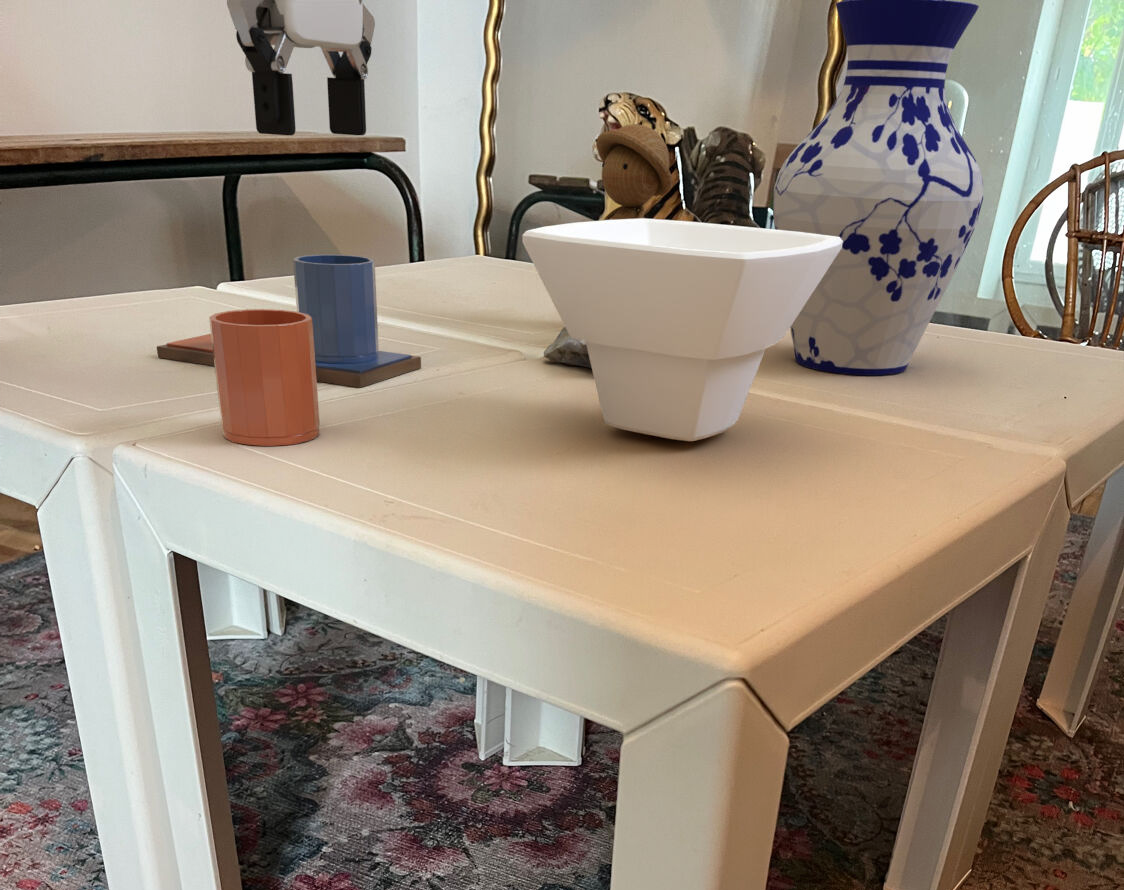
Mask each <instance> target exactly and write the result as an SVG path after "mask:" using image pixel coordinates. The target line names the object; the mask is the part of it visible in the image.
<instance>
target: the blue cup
mask: <svg viewBox="0 0 1124 890" xmlns="http://www.w3.org/2000/svg"><path fill="white" fill-rule="evenodd" d="M292 265H293V276H294V290H295V302H296V303H295V304H296V312H301V313H304V314H308V315H310V316H311V318H312V324H313V338H314V352H315V362H319V363H330V364H351V363H362V362H368V361H372V360H374V359H376V358H378V351H379V349H380V348H379V328H378V327H379V325H378V304H377V302H378V301H377V281H376V280H377V279H376V278H377V277H376V261H375V259H373V258H372V257H368V256H367V257H366V256H360V255H352V254H307V255H301V256H296V257H294V258H292Z"/></svg>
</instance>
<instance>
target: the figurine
mask: <svg viewBox="0 0 1124 890" xmlns="http://www.w3.org/2000/svg"><path fill="white" fill-rule="evenodd" d="M595 146H596V147H595V148H596V150H597V154H598V157H599V158H600V160H601V161H602V164H601V183H602V186H603V189H604V190H605V193H606V195H607V197H609V199H611V201H613V202H614V203H615V204H617V205H620V206H618V207H616V208H614V209H613V210H612V211H610V212H609V213H608V214H607V215H606V216H605V217H604V218H603V220H618V219H640V218H645V208H644V206H643V205H644V204H645V203H647V202H648V201H650V200H651V199H652V198H653V197H658V196H664V195H667V193H669V192H670V191H671V189H672V187H673V178H672V174H671V171H670V153H669V149H668V146H667V144H666V142H665V140H664V139H663V138H662V136H661V135H660V134H659V133H658V132H657V131H656V130H654V129H653V128H651V127H650V126H648V125H644V124H639V123H638V124H637V123H631V124H627V125H623V126H621V127H620V128H618V129H616V130H605V131H603V132H601V133H600V134H598V136H597V139H596V143H595Z"/></svg>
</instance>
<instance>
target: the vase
mask: <svg viewBox="0 0 1124 890" xmlns="http://www.w3.org/2000/svg"><path fill="white" fill-rule="evenodd" d="M835 7H836V12H837V15H838V18H839V21H840V25H841V28H842V32H843V36H844V40H845V44H846V52H847V64H846V65H847V66H846V73H845V76H844V77H845V78H844V82H843V85H842V87H841V89H840V92H839V94H838V96H837V98H836V100H835V101H834V103H833V105H832V106H831V108H830V109H829V110H828V112H827V113H826V114H825V115H824V117H823V118H822V119H821V120H820V121H819V123H817V124H816V126H815V127H814V128H813V129H812V130H811V131H810V132H809V133H808V134H807V135H806V136H805V138H804V139H803V140H802V141H801V142H800V143H798V145H797V146H796V147H795V148H794V149H793V150H792V151H791V152H790V154H789V155H788V157H786V159H785V160H784V162H783V163H782V166H781V167H780V170H779V172H778V173H777V177H776V181H775V183H774V186H773V205H772V207H773V208H772V217H773V224H774V229H775V230H785V231H795V232H805V233H813V234H821V235H829V236H837V237H840V238H841V239H842V241H843V244H842V248H841V250H840V251H839V253H838V255H837V256H836V258H835V259H834V261H833V262H832V264H831V265H830V267H829V268H828V270H827V271H826V273H825V274H824V276H823V278H822V279H821V281H820V282H819V284H818V285H817V287H816V288H815V290H814V291H813V293H812V294H811V296H810V298H809V299H808V301H807V302H806V304H805V305H804V307H803V308H802V310H801V311H800V313H799V314H798V316H797V318H796V319H795V321H794V322H793V324H792V325H791V327H790V328H789V330H790V335H791V341H792V347H793V354H794V355H793V356H794V360H795V362H796V363H797V364H798V365H800V366H803V367H806V368H809V369H812V370H817V371H821V372H826V373H831V374H832V373H834V374H838V375H839V374H841V375H849V376H850V375H851V376H852V375H853V376H887V375H889V376H890V375H896V374H900V373H902V372H905V371H906V370H907V368H908V365H909V363H910V361H911V359H912V357H913V355H914V353H915V351H916V349H917V347H918V345H919V343H920V342H921V339H922V337H923V335H924V333H925V331H926V329H927V327H928V326H929V324H930V322H931V320H932V318H933V316H934V314H935V312H936V310H937V308H938V306H939V304H940V302H941V300H942V298H943V296H944V294H945V293H946V291H947V288H948V286H949V285H950V282H951V281H952V278H953V276H954V274H955V273H956V271H957V268H958V267H959V264H960V262H961V260H962V257H963V255H964V253H965V251H966V249H967V246H968V245H969V242H970V240H971V238H972V236H973V234H974V231H975V230H976V228H977V224H978V220H979V216H980V212H981V208H982V205H983V202H984V181H983V178H982V176H983V175H982V172H981V169H980V166H979V164H978V162H977V160H976V158H975V156H974V154H973V153H972V151H971V149H970V148H969V146H968V145H967V143H966V141H965V140H964V137H963V136H962V135H961V133H960V131H959V129H958V127H957V126H956V124H955V120H954V119H953V117H952V114H951V112H950V109H949V105H948V102H947V97H946V87H945V86H946V75H947V70H948V65H949V62H950V59H951V57H952V55H953V52H954V50H955V47H956V46H957V44H958V42H959V41H960V39H961V37H962V36H963V34H964V32H965V31H966V29H967V27H968V26H969V24H970V23H971V22H972V20H973V18H974V17H975V15H976V13H977V12H978V9H979V7H980V6H979V5H977V4H975V3H971V2H965V1H956V0H841V1H838V2H836V3H835Z"/></svg>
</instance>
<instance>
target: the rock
mask: <svg viewBox="0 0 1124 890" xmlns="http://www.w3.org/2000/svg"><path fill="white" fill-rule="evenodd" d="M543 358H546V359H548V360H549V361H554V362H557V363H562V364H565V365H568V366H577V367H578V366H579V367H583V368H584V367H585V368H588V369H592V367H591V363H590V359H589V354H588V350H587V346H586V341H584V340H579V339H575V338H571V337H570V335H569V333H568V331H567V329H566V327H565V325H564V326H563V327H562V329H561V330H560V333H559V334H558V335H557V337H556V338H555V339H554V341H553V342H551V343H550V344H549V345H548V346H547V348H546V349H545V350H544V352H543Z"/></svg>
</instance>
